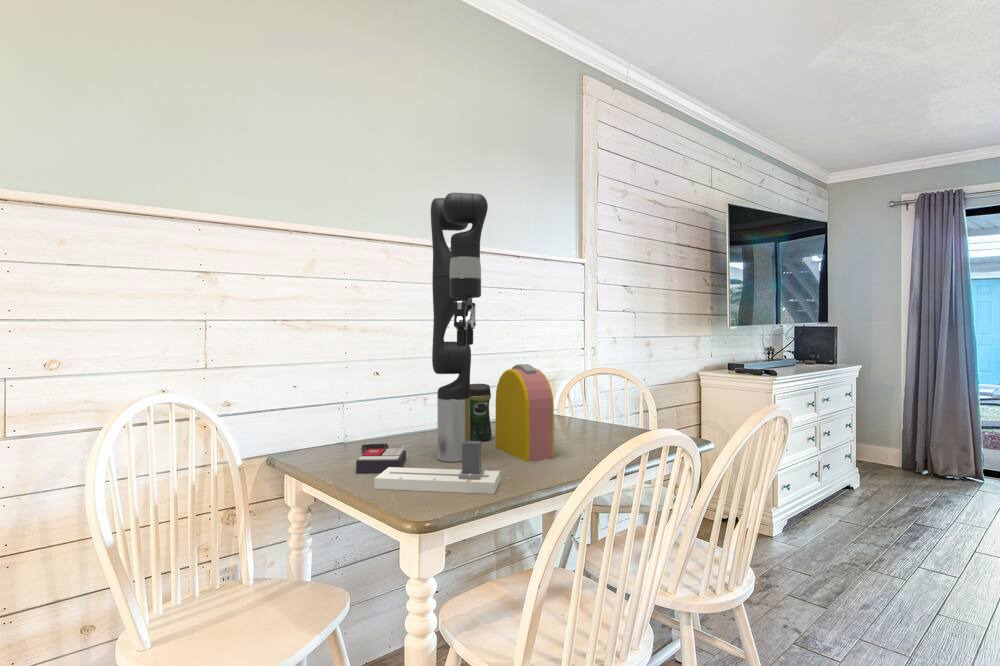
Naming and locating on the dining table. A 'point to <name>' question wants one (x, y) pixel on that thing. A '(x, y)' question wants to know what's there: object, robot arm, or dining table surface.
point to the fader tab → (471, 460)
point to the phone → (374, 447)
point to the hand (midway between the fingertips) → (465, 345)
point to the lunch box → (525, 414)
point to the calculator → (380, 460)
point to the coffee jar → (480, 412)
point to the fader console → (435, 480)
